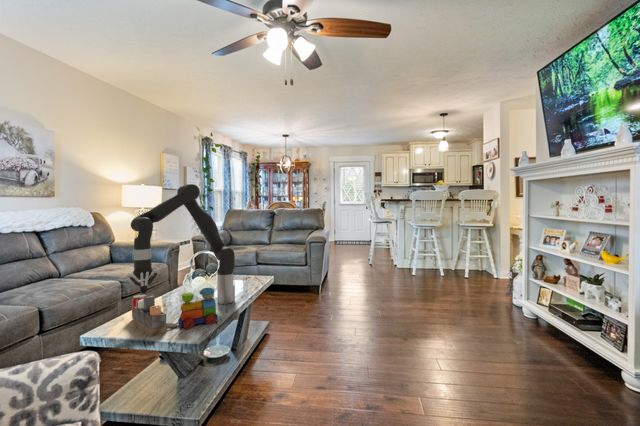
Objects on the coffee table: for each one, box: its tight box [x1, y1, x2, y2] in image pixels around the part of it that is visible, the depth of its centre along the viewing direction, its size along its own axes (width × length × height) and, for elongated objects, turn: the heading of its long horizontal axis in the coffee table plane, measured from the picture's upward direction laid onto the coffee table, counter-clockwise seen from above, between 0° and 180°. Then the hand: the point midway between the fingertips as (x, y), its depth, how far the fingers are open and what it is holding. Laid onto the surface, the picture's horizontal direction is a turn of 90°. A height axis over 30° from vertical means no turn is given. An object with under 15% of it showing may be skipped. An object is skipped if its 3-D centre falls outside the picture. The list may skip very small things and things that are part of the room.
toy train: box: [166, 287, 218, 330], centre depth 154 cm, size 12×29×17 cm, turn 124°
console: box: [133, 306, 168, 337], centre depth 150 cm, size 7×22×8 cm, turn 48°
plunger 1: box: [138, 299, 144, 309], centre depth 155 cm, size 5×5×7 cm
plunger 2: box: [150, 304, 162, 317], centre depth 145 cm, size 5×5×7 cm
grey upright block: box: [144, 295, 156, 313], centre depth 150 cm, size 5×5×7 cm
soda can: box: [131, 293, 147, 321], centre depth 162 cm, size 7×7×12 cm
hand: (143, 293), depth 155 cm, fingers closed
